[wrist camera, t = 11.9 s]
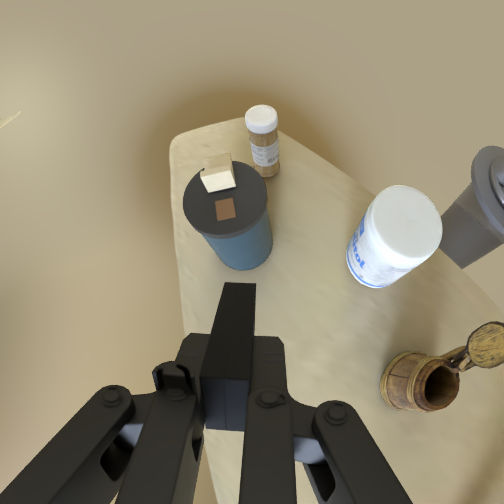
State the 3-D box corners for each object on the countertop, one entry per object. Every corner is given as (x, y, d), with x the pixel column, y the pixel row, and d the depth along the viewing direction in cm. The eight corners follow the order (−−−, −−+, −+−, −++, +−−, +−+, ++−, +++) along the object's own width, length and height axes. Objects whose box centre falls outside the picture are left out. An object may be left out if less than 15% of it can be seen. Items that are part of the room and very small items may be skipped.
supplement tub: (337, 238, 45) (356, 188, 32) (389, 225, 45) (423, 176, 31) (355, 297, 42) (387, 269, 28) (409, 281, 42) (455, 248, 28)
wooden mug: (458, 361, 36) (532, 355, 20) (399, 421, 35) (459, 450, 18) (431, 321, 39) (500, 297, 23) (368, 379, 38) (420, 392, 21)
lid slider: (236, 186, 33) (230, 170, 30) (208, 193, 33) (200, 177, 30) (231, 156, 34) (225, 138, 31) (204, 162, 34) (197, 145, 31)
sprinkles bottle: (273, 154, 52) (268, 99, 39) (284, 172, 50) (283, 118, 38) (250, 163, 52) (239, 109, 39) (260, 182, 50) (252, 129, 38)
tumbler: (280, 265, 45) (274, 224, 31) (218, 277, 46) (185, 243, 32) (268, 209, 49) (258, 152, 34) (211, 221, 49) (180, 170, 35)
